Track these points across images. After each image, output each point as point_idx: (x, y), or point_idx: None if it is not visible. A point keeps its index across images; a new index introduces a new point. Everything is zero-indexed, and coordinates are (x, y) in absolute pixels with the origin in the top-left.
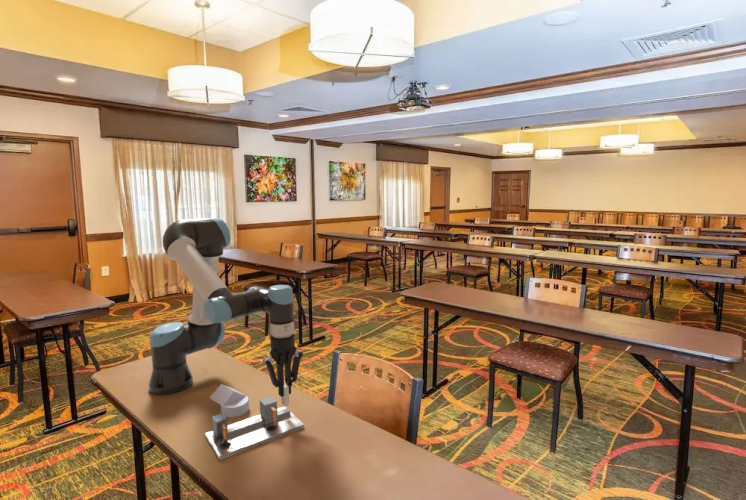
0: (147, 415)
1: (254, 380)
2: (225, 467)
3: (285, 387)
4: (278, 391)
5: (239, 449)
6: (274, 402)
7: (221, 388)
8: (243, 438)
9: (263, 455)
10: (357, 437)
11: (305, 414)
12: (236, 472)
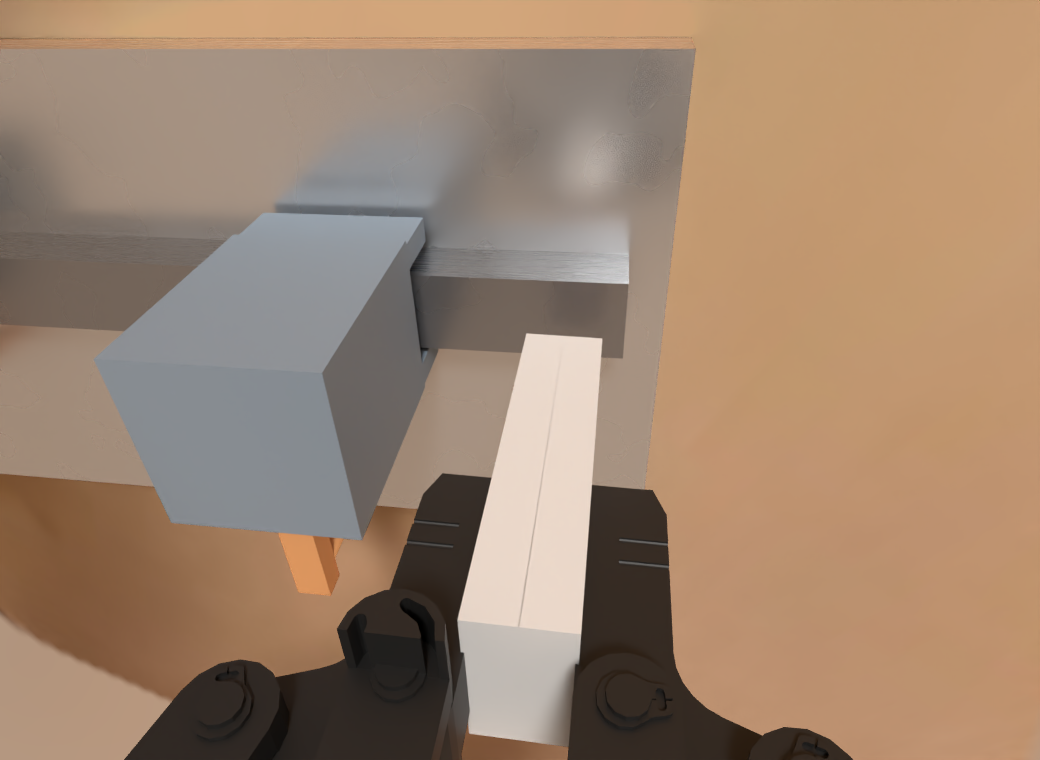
0: None
1: None
2: (6, 515)
3: (500, 727)
4: (409, 534)
5: (64, 476)
6: (324, 535)
7: None
8: (81, 389)
9: (245, 559)
10: (854, 748)
11: (814, 332)
12: (80, 577)
